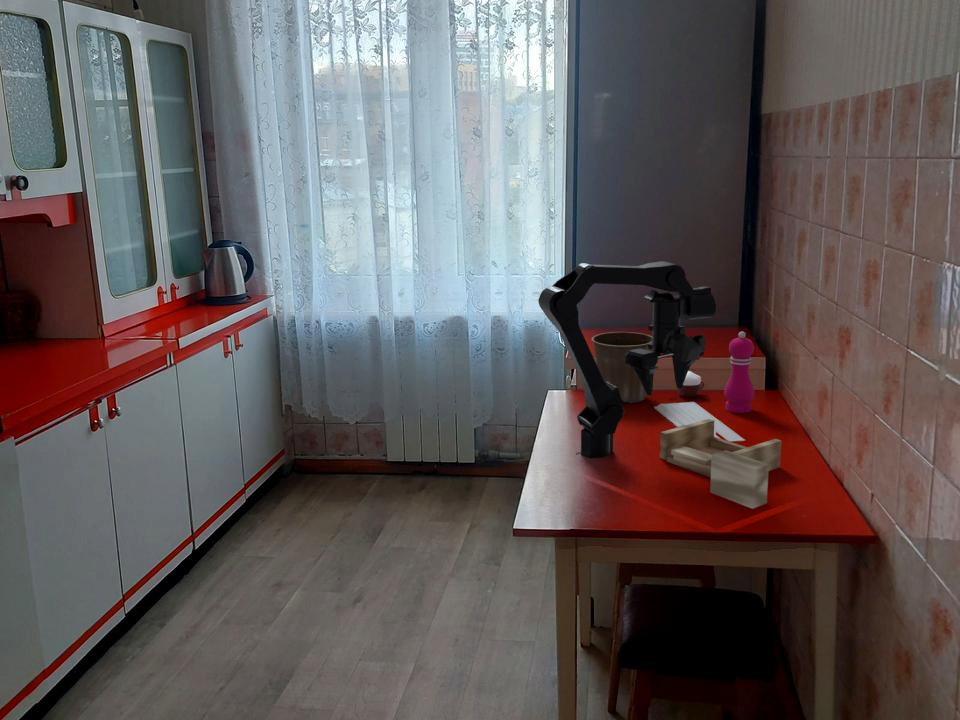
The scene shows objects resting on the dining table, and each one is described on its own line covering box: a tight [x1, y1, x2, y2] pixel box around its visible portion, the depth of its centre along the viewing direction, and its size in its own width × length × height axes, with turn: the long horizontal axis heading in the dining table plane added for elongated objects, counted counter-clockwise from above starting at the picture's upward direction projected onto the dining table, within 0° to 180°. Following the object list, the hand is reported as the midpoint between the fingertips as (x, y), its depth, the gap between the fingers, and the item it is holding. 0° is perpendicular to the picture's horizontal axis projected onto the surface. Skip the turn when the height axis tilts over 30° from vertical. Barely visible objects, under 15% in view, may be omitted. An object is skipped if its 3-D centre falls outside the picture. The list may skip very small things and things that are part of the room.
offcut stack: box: [666, 446, 712, 478], centre depth 188 cm, size 4×14×3 cm, turn 35°
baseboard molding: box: [649, 397, 746, 443], centre depth 219 cm, size 31×3×12 cm
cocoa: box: [676, 370, 705, 398], centre depth 243 cm, size 10×6×12 cm, turn 86°
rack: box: [659, 419, 782, 472], centre depth 191 cm, size 15×19×6 cm
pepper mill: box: [723, 331, 755, 414], centre depth 228 cm, size 7×7×20 cm
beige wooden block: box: [709, 450, 770, 510], centre depth 172 cm, size 4×10×8 cm, turn 35°
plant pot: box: [591, 331, 652, 404], centre depth 241 cm, size 16×16×16 cm
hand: (664, 391), depth 200 cm, fingers open, 9 cm apart
